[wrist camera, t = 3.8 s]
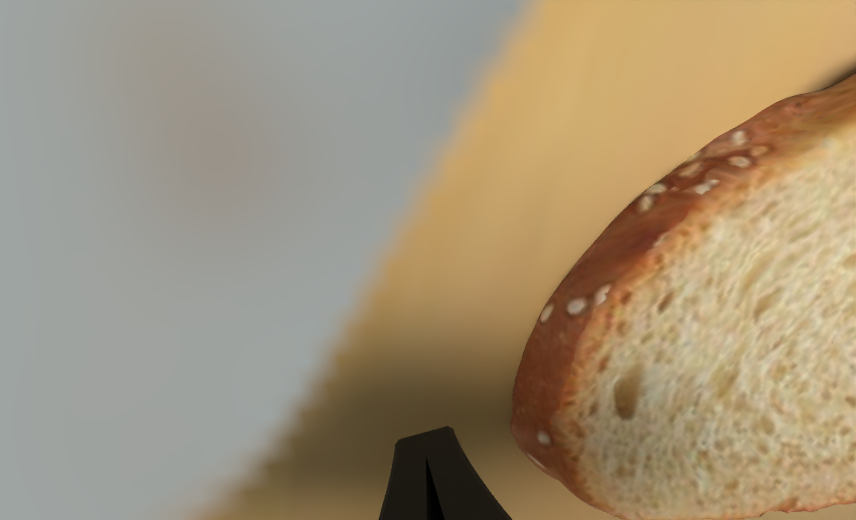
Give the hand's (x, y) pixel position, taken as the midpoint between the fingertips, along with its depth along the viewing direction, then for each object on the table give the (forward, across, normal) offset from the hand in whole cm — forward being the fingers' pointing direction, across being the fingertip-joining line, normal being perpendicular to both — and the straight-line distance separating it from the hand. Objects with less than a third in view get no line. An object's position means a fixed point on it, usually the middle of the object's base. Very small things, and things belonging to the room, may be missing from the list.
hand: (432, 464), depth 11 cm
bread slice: (+2, -13, 0) cm, 14 cm away
